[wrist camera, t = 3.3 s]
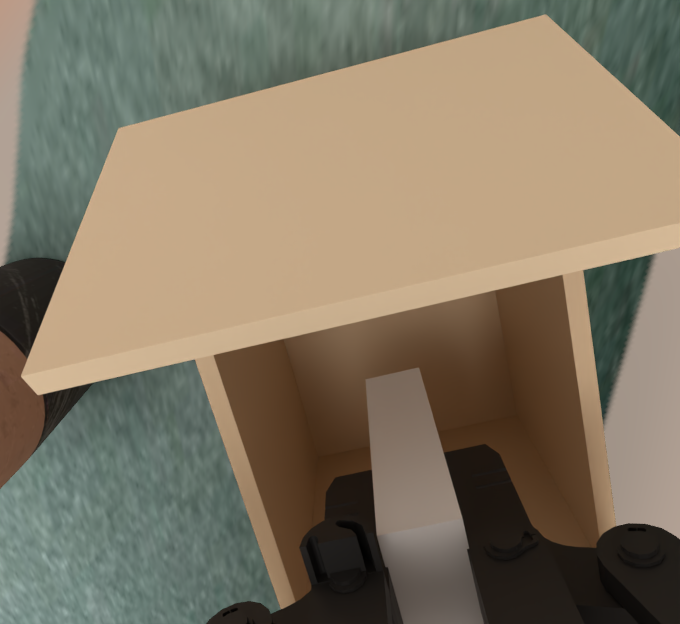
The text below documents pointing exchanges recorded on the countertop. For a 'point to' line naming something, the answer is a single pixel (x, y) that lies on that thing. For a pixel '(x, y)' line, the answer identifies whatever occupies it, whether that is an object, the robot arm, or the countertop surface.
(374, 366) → the carton
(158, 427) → the countertop surface
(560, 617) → the robot arm
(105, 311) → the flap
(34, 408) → the travel mug
